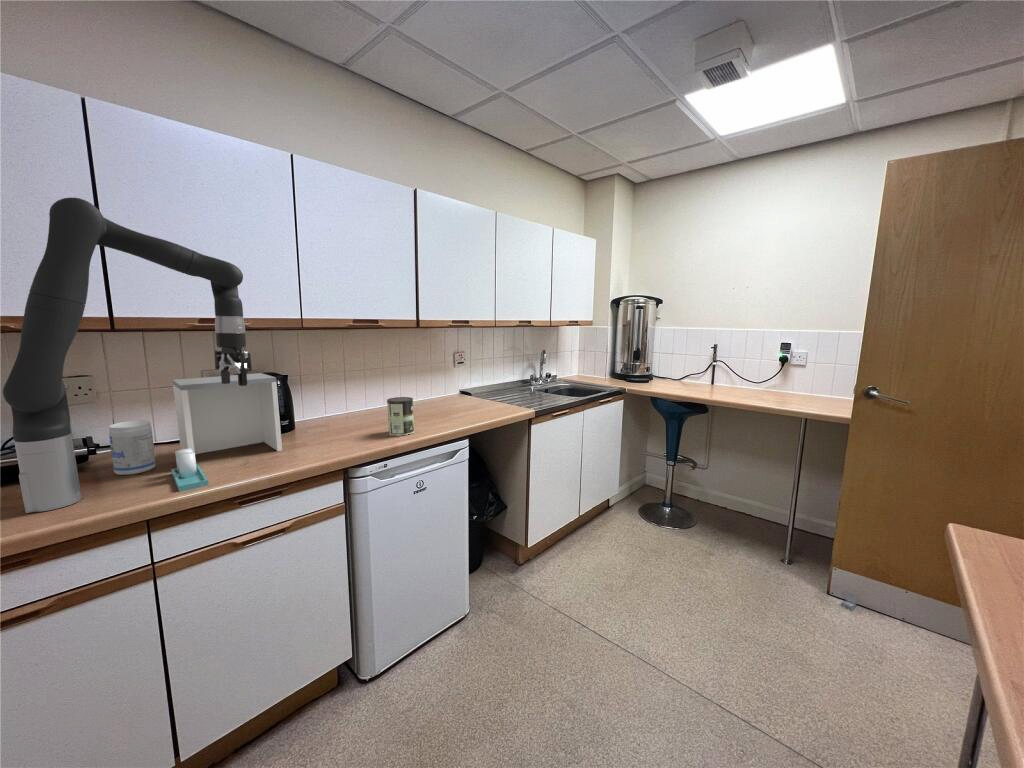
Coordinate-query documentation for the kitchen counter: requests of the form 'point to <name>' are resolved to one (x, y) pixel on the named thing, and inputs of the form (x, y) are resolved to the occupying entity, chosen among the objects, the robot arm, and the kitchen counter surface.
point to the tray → (190, 481)
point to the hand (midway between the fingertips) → (234, 384)
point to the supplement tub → (132, 447)
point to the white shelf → (227, 412)
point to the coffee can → (400, 416)
